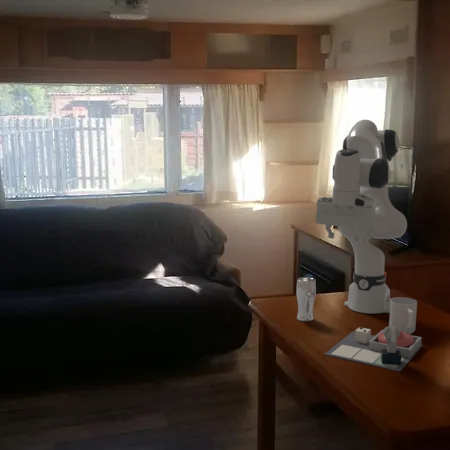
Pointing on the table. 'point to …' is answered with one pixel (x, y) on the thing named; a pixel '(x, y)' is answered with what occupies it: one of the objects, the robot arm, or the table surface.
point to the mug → (403, 314)
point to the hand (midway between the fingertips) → (344, 239)
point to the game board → (370, 349)
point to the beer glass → (305, 298)
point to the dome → (398, 339)
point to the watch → (391, 346)
